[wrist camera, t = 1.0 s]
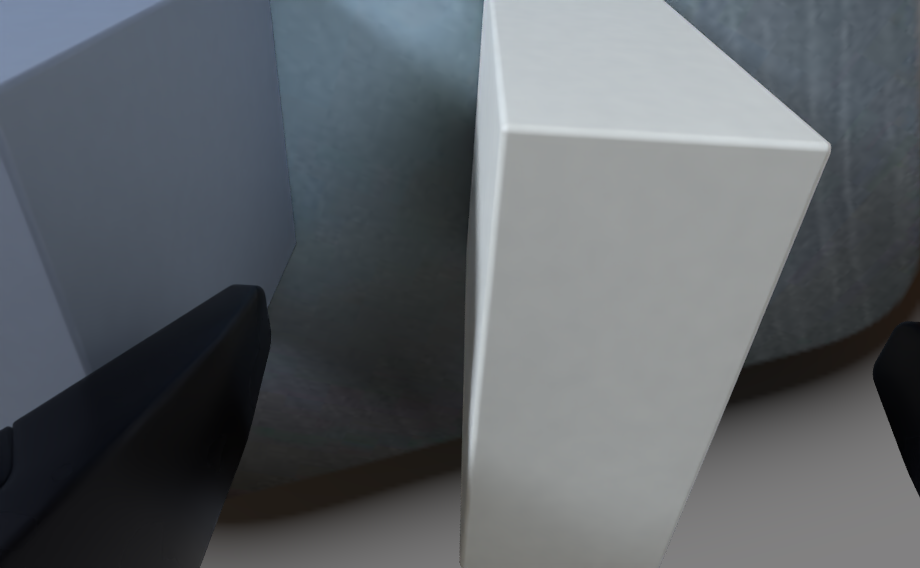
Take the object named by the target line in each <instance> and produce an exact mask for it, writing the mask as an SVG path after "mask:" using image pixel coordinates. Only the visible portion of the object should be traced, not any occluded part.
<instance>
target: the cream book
mask: <svg viewBox="0 0 920 568" xmlns="http://www.w3.org/2000/svg"><path fill="white" fill-rule="evenodd" d="M830 153H831V145H830V143H829V142H828V141H827V140H825V139H824V138H823V137H822V136H821V135H820V134H819V133H817V132H816V131H815V130H814V129H813V128H812V127H810V126H809V125H808V124H807V123H806V122H805V121H803V120H802V119H801V118H800V117H799V116H798V115H796V114H795V113H794V112H793V111H792V110H791V109H789V108H788V107H787V106H786V105H785V104H784V103H782V102H781V101H780V100H779V99H778V98H777V97H775V96H774V95H773V94H772V93H771V92H770V91H768V90H767V89H766V88H765V87H764V86H763V85H762V84H760V83H759V82H758V81H757V80H756V79H755V78H753V77H752V76H751V75H750V74H749V73H748V72H746V71H745V70H744V69H743V68H742V67H741V66H739V65H738V64H737V63H736V62H735V61H734V60H732V59H731V58H730V57H729V56H728V55H727V54H725V53H724V52H723V51H722V50H721V49H720V48H718V47H717V46H716V45H715V44H714V43H713V42H711V41H710V40H709V39H708V38H707V37H706V36H705V35H703V34H702V33H701V32H700V31H699V30H698V29H696V28H695V27H694V26H693V25H692V24H691V23H689V22H688V21H687V20H686V19H685V18H684V17H682V16H681V15H680V14H679V13H678V12H677V11H675V10H674V9H673V8H672V7H671V6H670V5H668V4H667V3H666V2H665V1H664V0H484V8H483V22H482V37H481V51H480V66H479V80H478V94H477V109H476V123H475V137H474V152H473V166H472V180H471V195H470V209H469V224H468V238H467V253H466V297H465V341H464V386H463V430H462V475H461V520H460V565H461V567H462V568H659V567H660V565H661V562H662V560H663V558H664V555H665V553H666V550H667V548H668V546H669V543H670V541H671V538H672V536H673V533H674V531H675V529H676V526H677V524H678V521H679V519H680V517H681V514H682V512H683V509H684V507H685V504H686V502H687V500H688V497H689V495H690V492H691V490H692V487H693V485H694V483H695V480H696V478H697V475H698V473H699V470H700V468H701V465H702V463H703V461H704V458H705V456H706V454H707V451H708V448H709V446H710V444H711V441H712V439H713V437H714V434H715V432H716V429H717V427H718V424H719V422H720V420H721V417H722V415H723V412H724V410H725V407H726V405H727V403H728V400H729V398H730V395H731V393H732V390H733V388H734V386H735V383H736V381H737V378H738V376H739V374H740V371H741V369H742V366H743V364H744V361H745V359H746V357H747V354H748V352H749V349H750V347H751V344H752V342H753V340H754V337H755V335H756V332H757V330H758V327H759V325H760V323H761V320H762V318H763V315H764V313H765V310H766V308H767V306H768V303H769V301H770V298H771V296H772V294H773V291H774V289H775V286H776V284H777V281H778V279H779V277H780V274H781V272H782V269H783V267H784V264H785V262H786V260H787V257H788V255H789V252H790V250H791V247H792V245H793V243H794V240H795V238H796V235H797V233H798V230H799V228H800V226H801V223H802V221H803V218H804V216H805V214H806V211H807V209H808V206H809V204H810V201H811V199H812V197H813V194H814V192H815V189H816V187H817V184H818V182H819V180H820V177H821V175H822V172H823V170H824V167H825V165H826V163H827V160H828V158H829V155H830Z"/></svg>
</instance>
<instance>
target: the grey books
mask: <svg viewBox="0 0 920 568" xmlns="http://www.w3.org/2000/svg"><path fill="white" fill-rule="evenodd" d="M295 245H296V235H295V226H294V217H293V208H292V199H291V190H290V181H289V172H288V162H287V153H286V144H285V135H284V126H283V117H282V108H281V99H280V90H279V81H278V71H277V62H276V53H275V44H274V35H273V26H272V17H271V8H270V0H0V430H1V429H3V428H5V427H7V426H10V427H12V425H13V423H14V422H15V421H16V420H18V419H19V418H21V417H22V416H24V415H25V414H27V413H29V412H30V411H32V410H33V409H35V408H37V407H38V406H40V405H41V404H43V403H45V402H46V401H48V400H49V399H51V398H52V397H54V396H56V395H57V394H59V393H60V392H62V391H64V390H65V389H67V388H68V387H70V386H72V385H73V384H75V383H76V382H78V381H79V380H81V379H83V378H84V377H86V376H87V375H89V374H91V373H92V372H94V371H95V370H97V369H98V368H100V367H102V366H103V365H105V364H106V363H108V362H110V361H111V360H113V359H114V358H116V357H118V356H119V355H121V354H122V353H124V352H125V351H127V350H129V349H130V348H132V347H133V346H135V345H137V344H138V343H140V342H141V341H143V340H144V339H146V338H148V337H149V336H151V335H152V334H154V333H156V332H157V331H159V330H160V329H162V328H164V327H165V326H167V325H168V324H170V323H171V322H173V321H175V320H176V319H178V318H179V317H181V316H183V315H184V314H186V313H187V312H189V311H190V310H192V309H194V308H195V307H197V306H198V305H200V304H202V303H203V302H205V301H206V300H208V299H210V298H211V297H213V296H214V295H216V294H217V293H219V292H221V291H222V290H224V289H225V288H227V287H229V286H231V285H233V284H243V285H258V286H260V287H262V288H263V290H264V292H265V296H266V302H267V308H268V306H269V303H270V301H271V299H272V297H273V294H274V292H275V290H276V288H277V285H278V283H279V281H280V279H281V276H282V274H283V272H284V270H285V267H286V265H287V263H288V261H289V258H290V256H291V254H292V252H293V249H294V247H295Z"/></svg>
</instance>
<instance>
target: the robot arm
mask: <svg viewBox="0 0 920 568" xmlns="http://www.w3.org/2000/svg"><path fill="white" fill-rule="evenodd" d="M270 344H271V329H270V322H269V315H268V309H267V302H266V296H265V292H264V290H263V288H262V287H260V286H258V285H243V284H233V285H231V286H229V287H227V288H225V289H224V290H222V291H221V292H219V293H217V294H216V295H214V296H213V297H211V298H210V299H208V300H206V301H205V302H203V303H202V304H200V305H198V306H197V307H195V308H194V309H192V310H190V311H189V312H187V313H186V314H184V315H183V316H181V317H179V318H178V319H176V320H175V321H173V322H171V323H170V324H168V325H167V326H165V327H164V328H162V329H160V330H159V331H157V332H156V333H154V334H152V335H151V336H149V337H148V338H146V339H144V340H143V341H141V342H140V343H138V344H137V345H135V346H133V347H132V348H130V349H129V350H127V351H125V352H124V353H122V354H121V355H119V356H118V357H116V358H114V359H113V360H111V361H110V362H108V363H106V364H105V365H103V366H102V367H100V368H98V369H97V370H95V371H94V372H92V373H91V374H89V375H87V376H86V377H84V378H83V379H81V380H79V381H78V382H76V383H75V384H73V385H72V386H70V387H68V388H67V389H65V390H64V391H62V392H60V393H59V394H57V395H56V396H54V397H52V398H51V399H49V400H48V401H46V402H45V403H43V404H41V405H40V406H38V407H37V408H35V409H33V410H32V411H30V412H29V413H27V414H25V415H24V416H22V417H21V418H19V419H18V420H16V421H15V422H14V423H13V425H12V427H10V426H7V427H5V428H3V429H1V430H0V568H200V566H201V563H202V560H203V558H204V555H205V552H206V550H207V547H208V544H209V541H210V539H211V536H212V533H213V531H214V528H215V526H216V523H217V520H218V518H219V515H220V513H221V510H222V507H223V504H224V502H225V499H226V497H227V494H228V491H229V489H230V486H231V483H232V481H233V478H234V475H235V473H236V470H237V467H238V465H239V462H240V460H241V457H242V454H243V451H244V448H245V445H246V442H247V439H248V436H249V432H250V428H251V424H252V420H253V416H254V412H255V408H256V404H257V400H258V395H259V391H260V387H261V383H262V379H263V375H264V371H265V366H266V362H267V358H268V354H269V350H270ZM873 380H874V383H875V386H876V388H877V391H878V394H879V396H880V399H881V402H882V405H883V407H884V410H885V412H886V415H887V418H888V421H889V423H890V426H891V429H892V431H893V434H894V437H895V439H896V442H897V444H898V447H899V450H900V452H901V455H902V458H903V461H904V463H905V466H906V468H907V470H908V473H909V475H910V478H911V480H912V482H913V484H914V486H915V488H916V490H917V492H918V494H919V496H920V322H903V323H901V324H899V325H898V326H897V327H896V328H895V329H894V330H893V332H892V334H891V336H890V337H889V339H888V341H887V343H886V344H885V346H884V348H883V350H882V352H881V353H880V355H879V357H878V359H877V360H876V362H875V364H874V368H873Z"/></svg>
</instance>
